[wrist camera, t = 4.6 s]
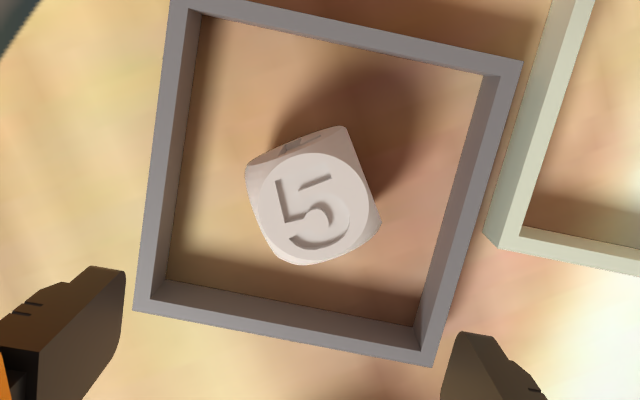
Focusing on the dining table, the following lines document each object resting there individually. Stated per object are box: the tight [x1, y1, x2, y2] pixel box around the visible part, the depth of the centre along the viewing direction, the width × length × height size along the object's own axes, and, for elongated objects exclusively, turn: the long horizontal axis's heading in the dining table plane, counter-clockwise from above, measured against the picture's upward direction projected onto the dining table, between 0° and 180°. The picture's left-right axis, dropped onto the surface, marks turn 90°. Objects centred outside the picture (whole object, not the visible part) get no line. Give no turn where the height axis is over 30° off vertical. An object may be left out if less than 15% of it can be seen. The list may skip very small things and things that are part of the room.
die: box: [245, 126, 382, 265], centre depth 23 cm, size 5×5×5 cm
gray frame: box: [132, 0, 524, 368], centre depth 25 cm, size 16×16×2 cm
